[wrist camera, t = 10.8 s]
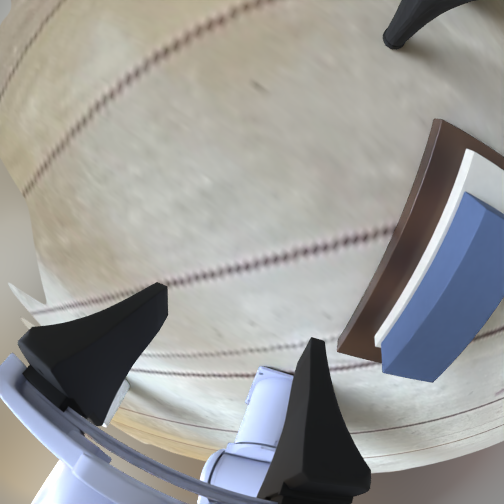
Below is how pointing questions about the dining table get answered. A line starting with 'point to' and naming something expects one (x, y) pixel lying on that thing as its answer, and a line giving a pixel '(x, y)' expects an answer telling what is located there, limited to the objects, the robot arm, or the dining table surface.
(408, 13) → the high-heeled shoe
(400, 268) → the shoe shelf
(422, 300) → the blue and white eraser
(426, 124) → the dining table surface
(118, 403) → the white cup
